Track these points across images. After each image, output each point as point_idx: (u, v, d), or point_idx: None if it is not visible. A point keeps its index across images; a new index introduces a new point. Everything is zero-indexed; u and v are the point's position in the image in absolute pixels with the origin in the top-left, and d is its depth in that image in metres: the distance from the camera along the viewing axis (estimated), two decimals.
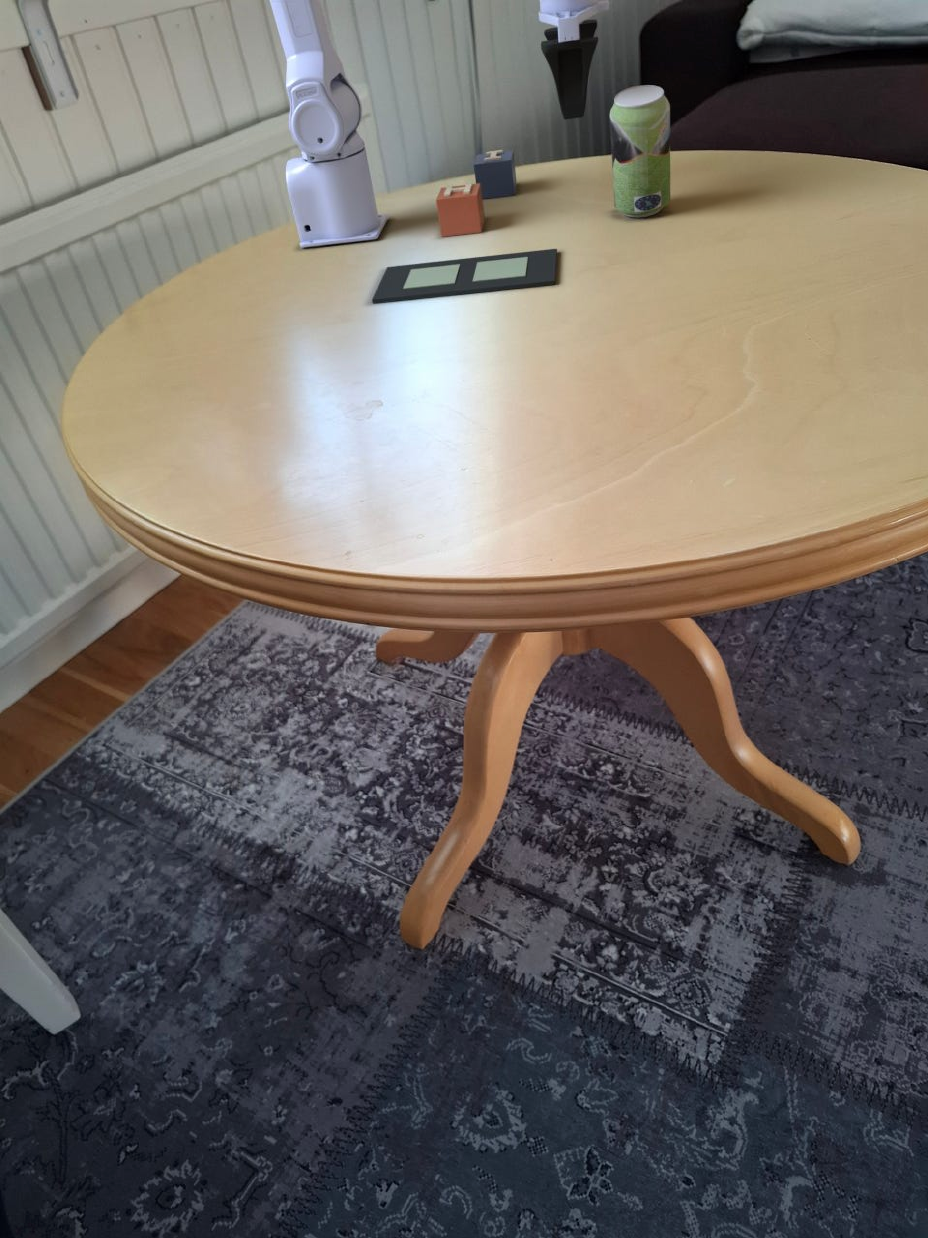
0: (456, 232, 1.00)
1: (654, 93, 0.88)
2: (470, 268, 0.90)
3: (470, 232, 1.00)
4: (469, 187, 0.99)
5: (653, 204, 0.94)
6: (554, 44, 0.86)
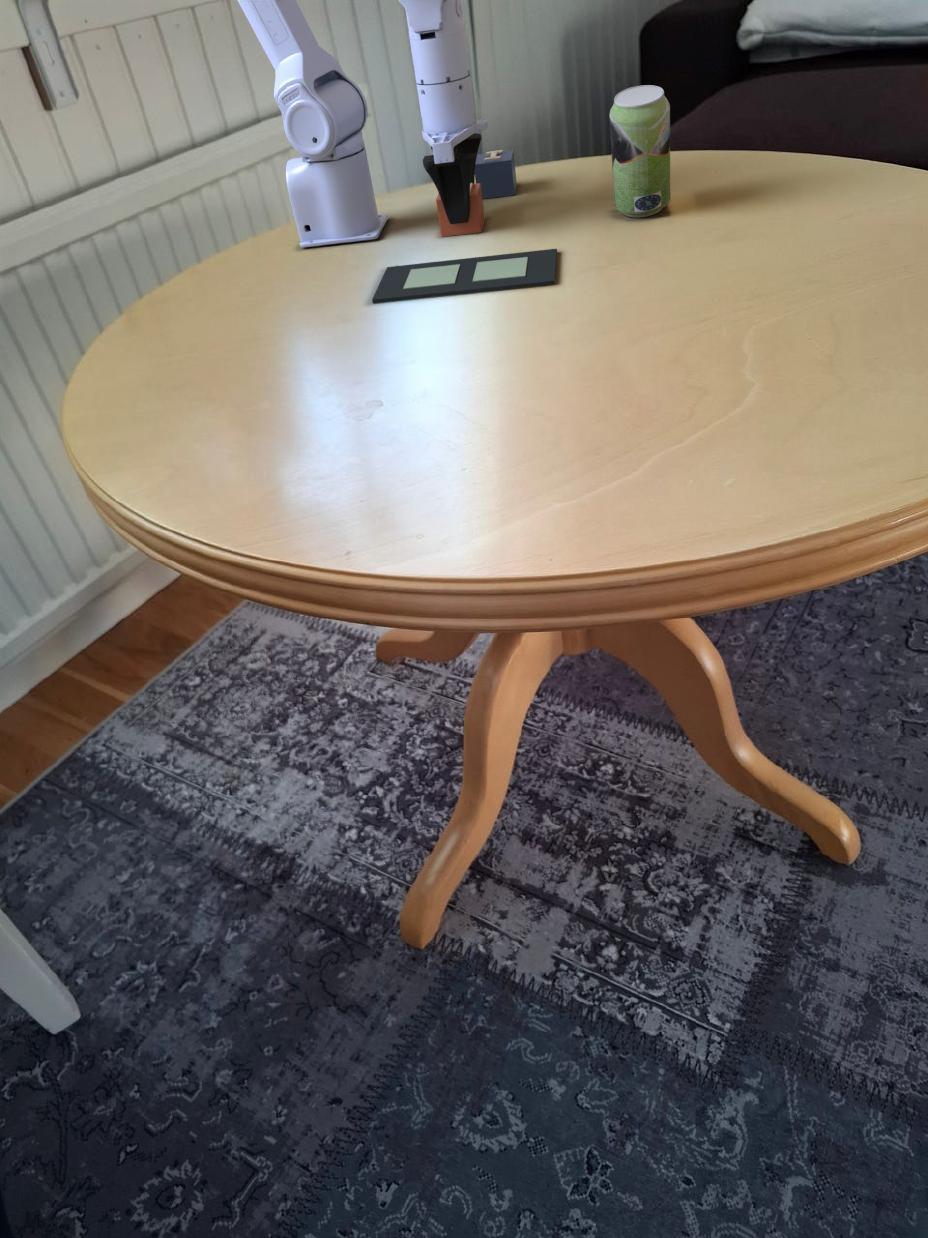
0: (456, 232, 1.00)
1: (654, 93, 0.88)
2: (470, 268, 0.90)
3: (470, 232, 1.00)
4: None
5: (653, 204, 0.94)
6: (434, 161, 0.93)
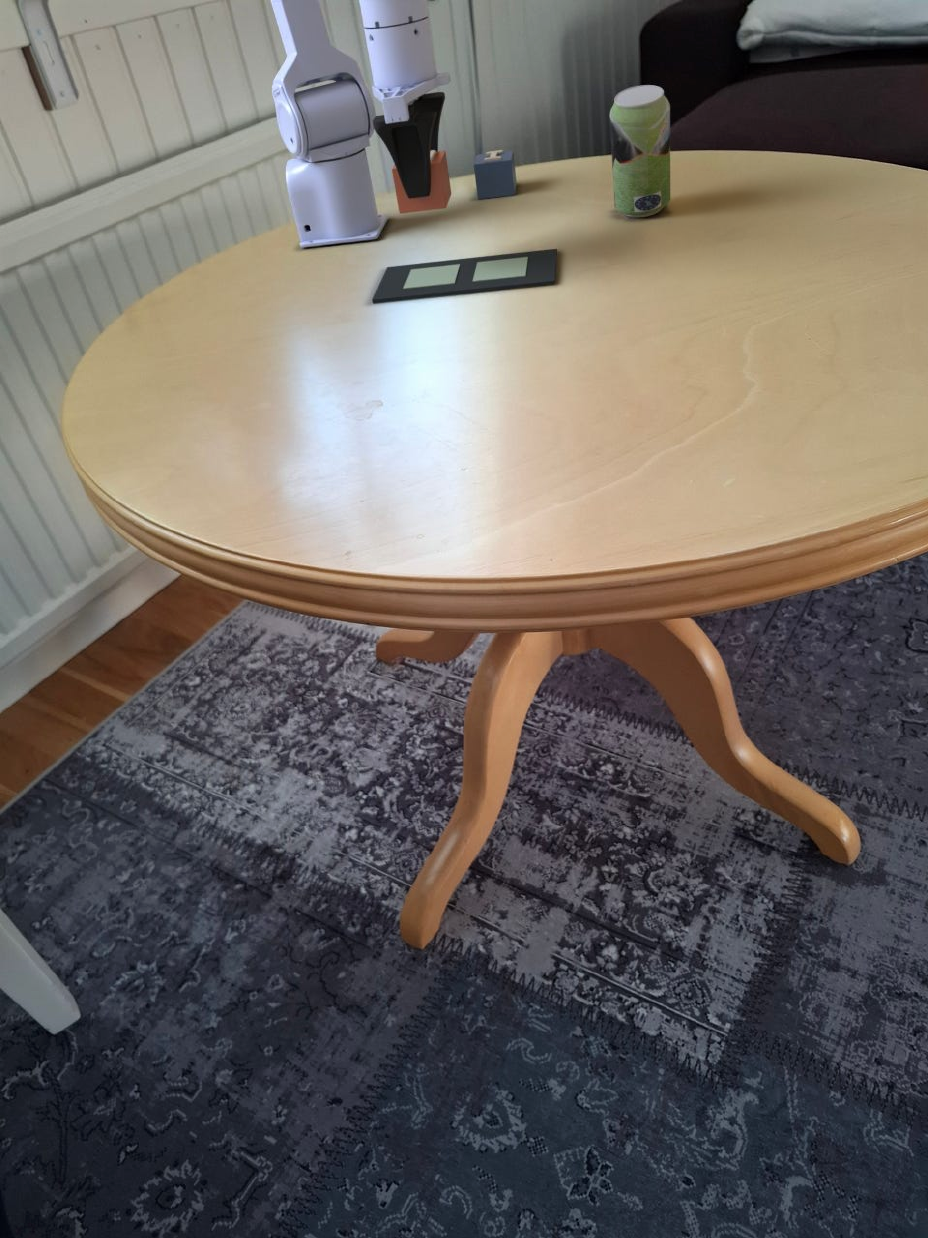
0: (416, 208, 0.85)
1: (654, 93, 0.88)
2: (470, 268, 0.90)
3: (433, 208, 0.85)
4: (431, 154, 0.84)
5: (653, 204, 0.94)
6: None
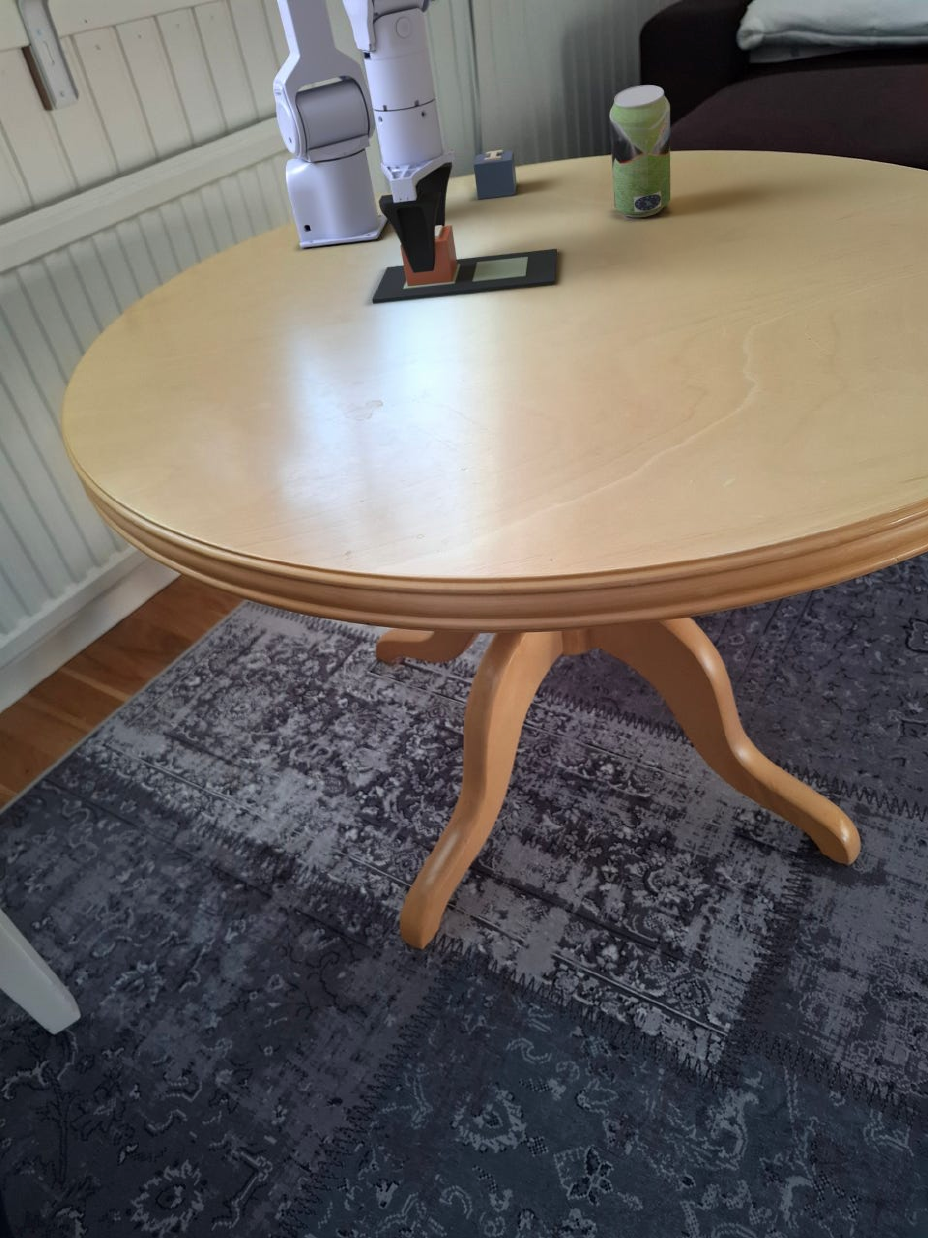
0: (424, 281, 0.88)
1: (654, 93, 0.88)
2: (470, 268, 0.90)
3: (440, 281, 0.88)
4: (438, 231, 0.87)
5: (653, 204, 0.94)
6: (391, 202, 0.80)
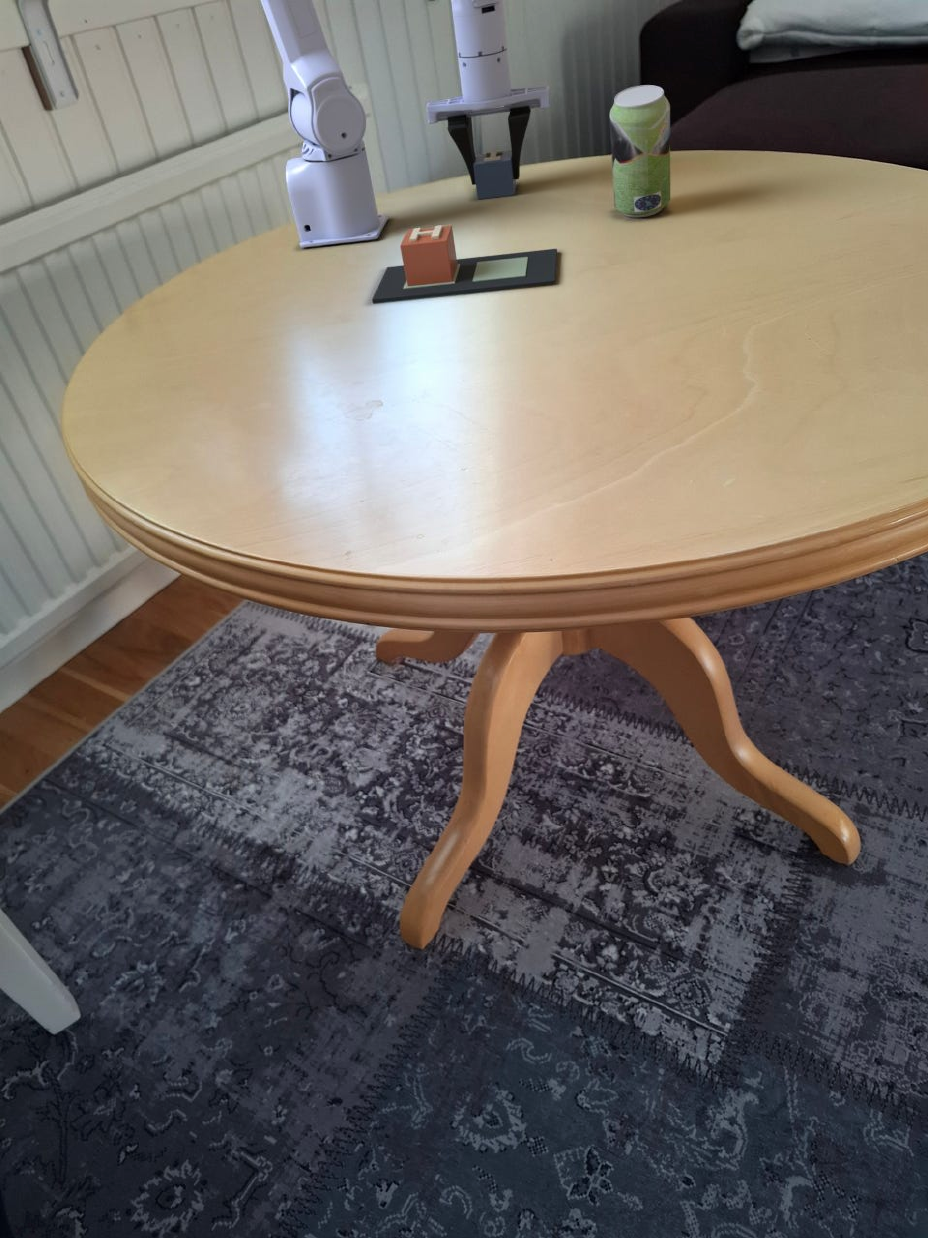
0: (424, 281, 0.88)
1: (654, 93, 0.88)
2: (470, 268, 0.90)
3: (440, 281, 0.88)
4: (438, 231, 0.87)
5: (653, 204, 0.94)
6: (529, 113, 1.04)
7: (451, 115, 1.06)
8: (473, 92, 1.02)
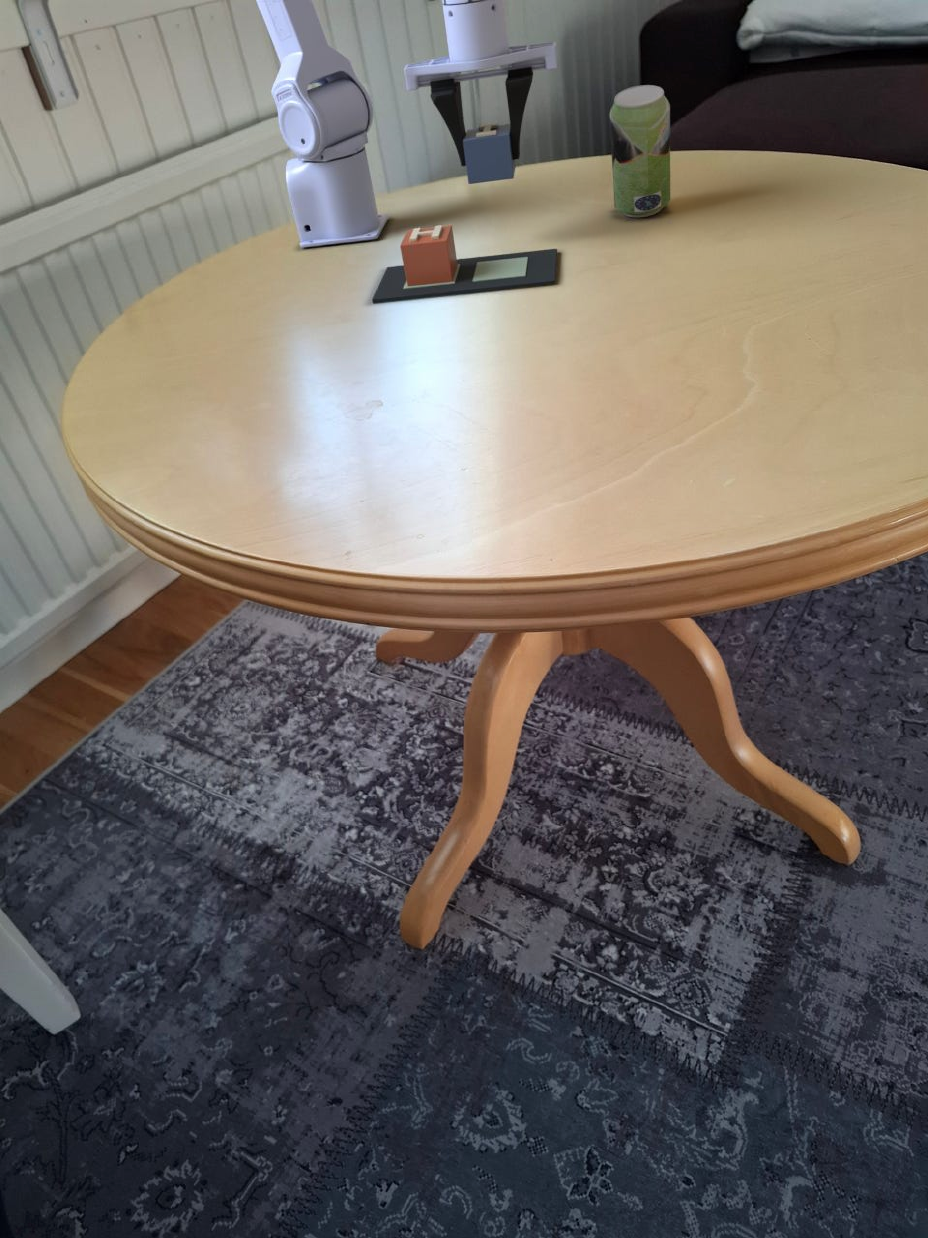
0: (424, 281, 0.88)
1: (654, 93, 0.88)
2: (470, 268, 0.90)
3: (440, 281, 0.88)
4: (438, 231, 0.87)
5: (653, 204, 0.94)
6: (531, 76, 0.84)
7: (435, 79, 0.85)
8: (462, 49, 0.82)
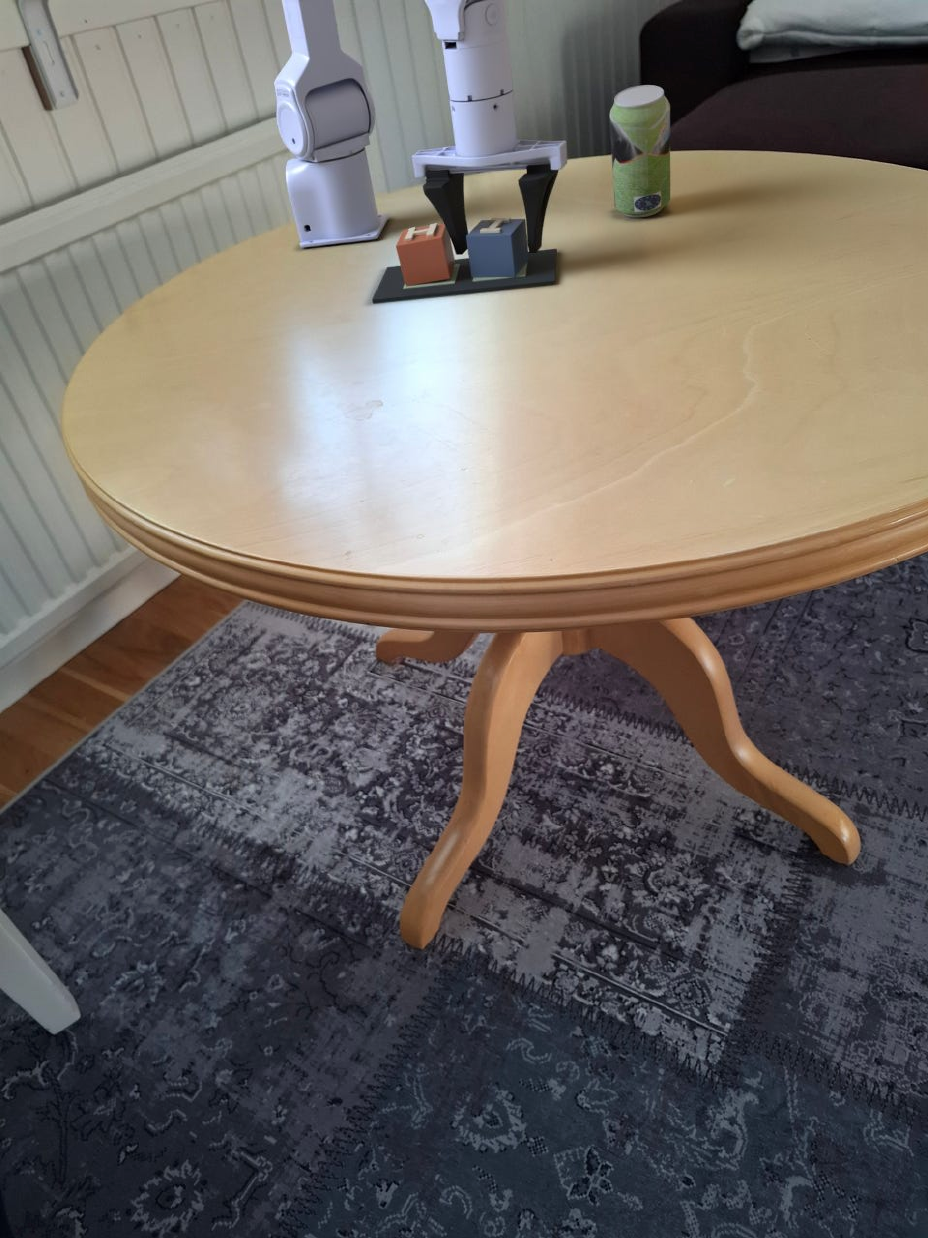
0: (422, 280, 0.88)
1: (654, 93, 0.88)
2: None
3: (437, 279, 0.88)
4: (433, 228, 0.87)
5: (653, 204, 0.94)
6: (548, 175, 0.80)
7: (443, 169, 0.84)
8: (464, 145, 0.80)
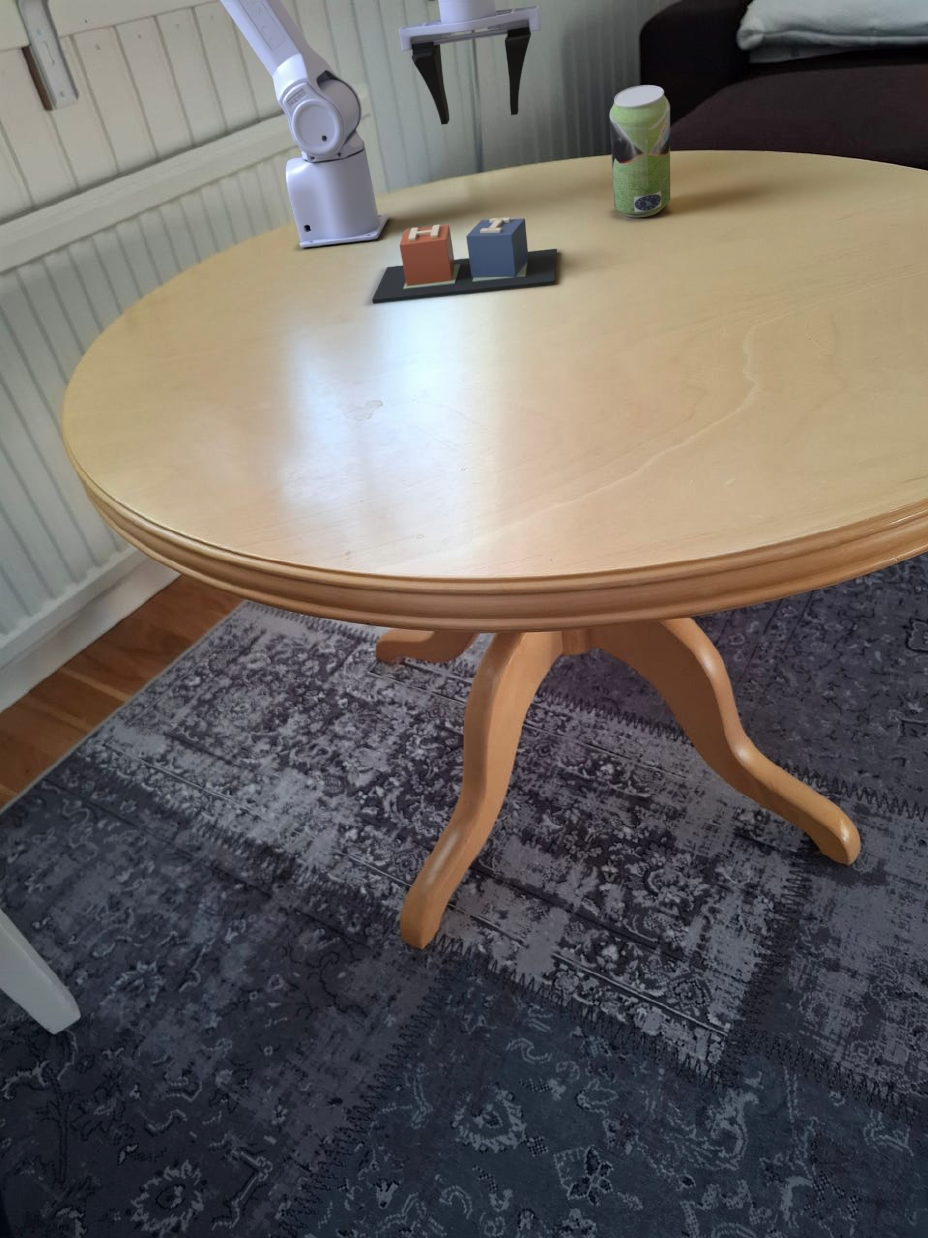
0: (423, 280, 0.88)
1: (654, 93, 0.88)
2: (470, 268, 0.90)
3: (439, 280, 0.88)
4: (437, 230, 0.87)
5: (653, 204, 0.94)
6: (529, 35, 0.90)
7: (427, 41, 0.92)
8: (452, 11, 0.89)
